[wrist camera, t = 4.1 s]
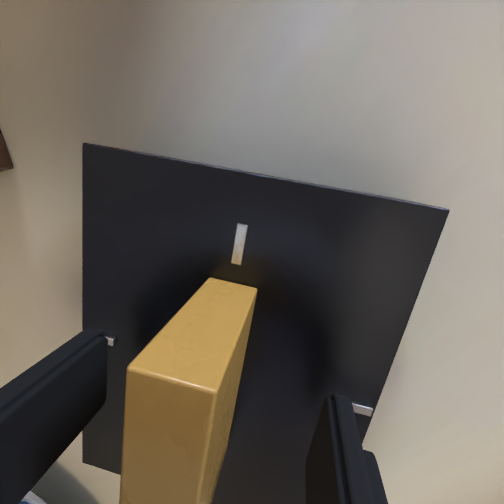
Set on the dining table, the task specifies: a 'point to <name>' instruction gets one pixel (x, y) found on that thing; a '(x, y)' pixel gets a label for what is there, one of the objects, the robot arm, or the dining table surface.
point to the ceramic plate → (32, 499)
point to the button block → (4, 156)
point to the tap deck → (267, 300)
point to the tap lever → (185, 398)
